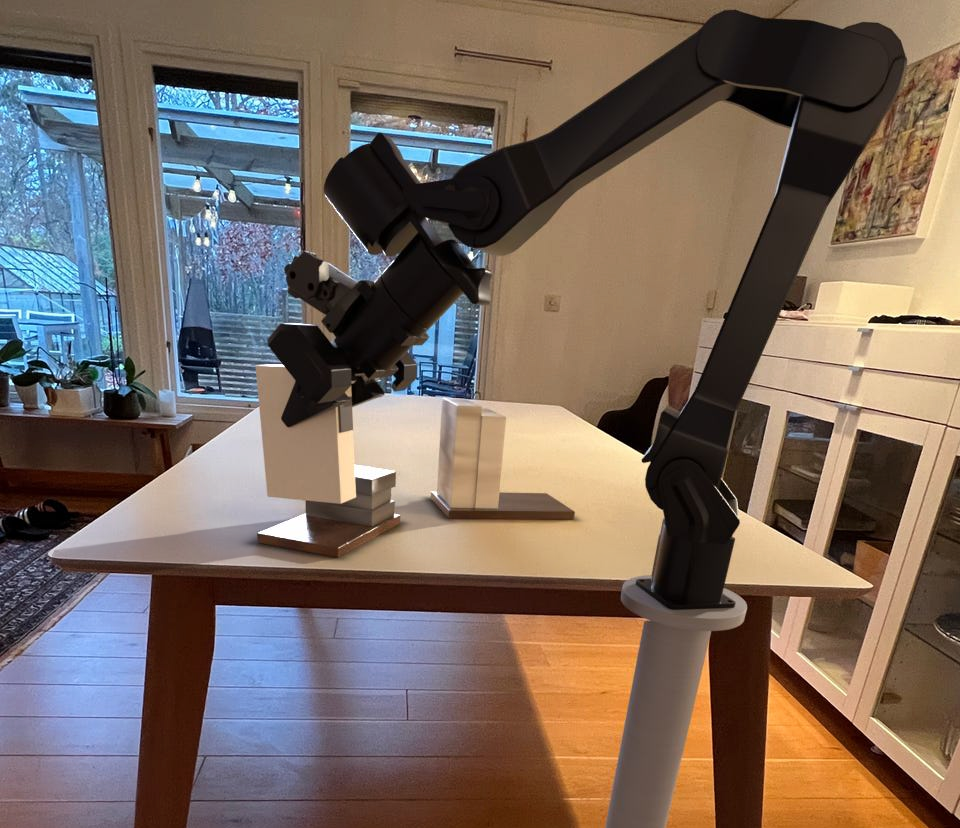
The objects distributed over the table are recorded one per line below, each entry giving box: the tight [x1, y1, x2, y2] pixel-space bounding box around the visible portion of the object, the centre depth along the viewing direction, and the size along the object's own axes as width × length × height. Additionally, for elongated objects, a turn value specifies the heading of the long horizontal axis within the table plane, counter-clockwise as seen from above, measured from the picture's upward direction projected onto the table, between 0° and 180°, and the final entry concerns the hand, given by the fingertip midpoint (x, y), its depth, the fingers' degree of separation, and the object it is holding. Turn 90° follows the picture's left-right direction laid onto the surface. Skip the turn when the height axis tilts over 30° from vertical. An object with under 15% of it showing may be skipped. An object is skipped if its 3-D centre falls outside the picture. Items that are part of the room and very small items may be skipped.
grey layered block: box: [256, 464, 401, 558], centre depth 76 cm, size 9×15×6 cm, turn 162°
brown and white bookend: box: [430, 397, 576, 520], centre depth 91 cm, size 10×16×13 cm, turn 106°
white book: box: [255, 363, 356, 504], centre depth 68 cm, size 8×3×12 cm, turn 72°
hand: (295, 421), depth 68 cm, fingers closed on white book, 3 cm apart
